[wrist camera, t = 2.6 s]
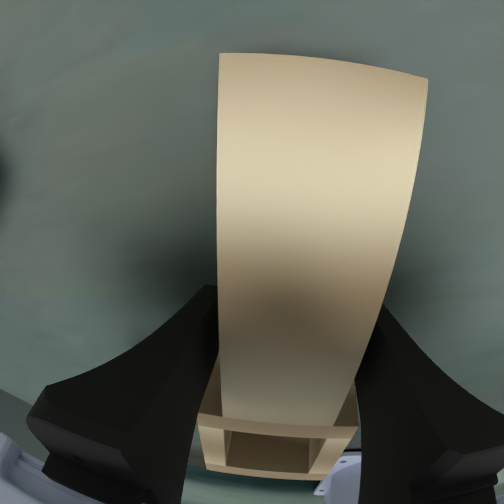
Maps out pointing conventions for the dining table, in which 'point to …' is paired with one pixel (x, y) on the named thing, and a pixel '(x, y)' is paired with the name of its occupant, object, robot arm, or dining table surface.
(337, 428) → the link
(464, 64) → the dining table surface
